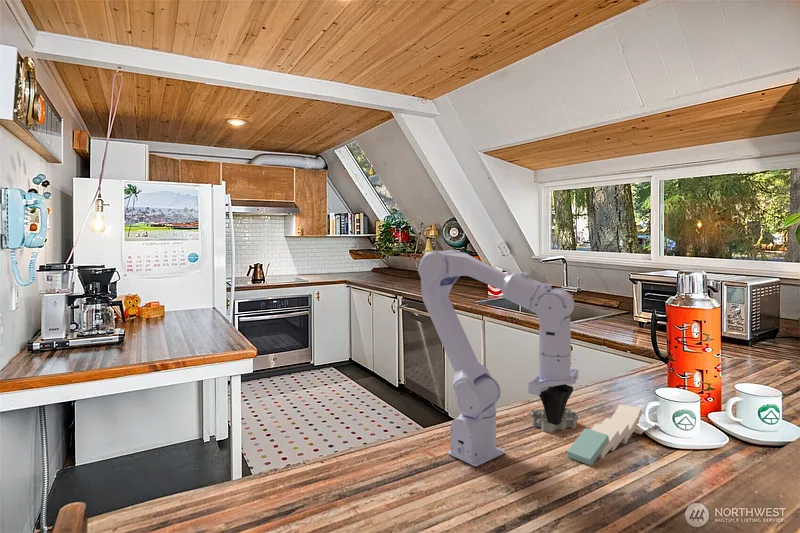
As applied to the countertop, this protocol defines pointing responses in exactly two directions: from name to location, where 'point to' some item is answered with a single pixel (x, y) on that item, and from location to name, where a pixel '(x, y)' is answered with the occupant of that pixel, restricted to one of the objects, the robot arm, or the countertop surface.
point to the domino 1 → (588, 446)
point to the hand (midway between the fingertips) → (554, 422)
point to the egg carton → (541, 421)
